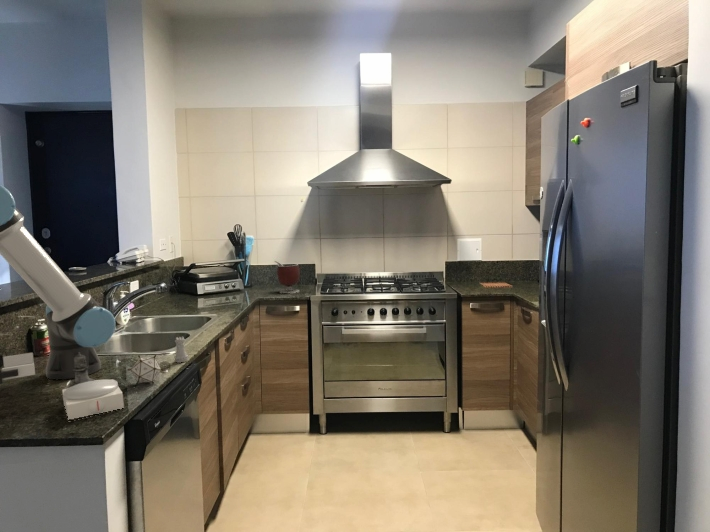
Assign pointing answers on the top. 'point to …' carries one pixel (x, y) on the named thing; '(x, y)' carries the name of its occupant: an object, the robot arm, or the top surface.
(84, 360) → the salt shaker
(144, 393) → the top surface
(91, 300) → the robot arm
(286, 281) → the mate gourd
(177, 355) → the rook chess piece
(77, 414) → the kitchen scale
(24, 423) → the top surface
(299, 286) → the top surface
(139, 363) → the game die
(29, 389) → the top surface
